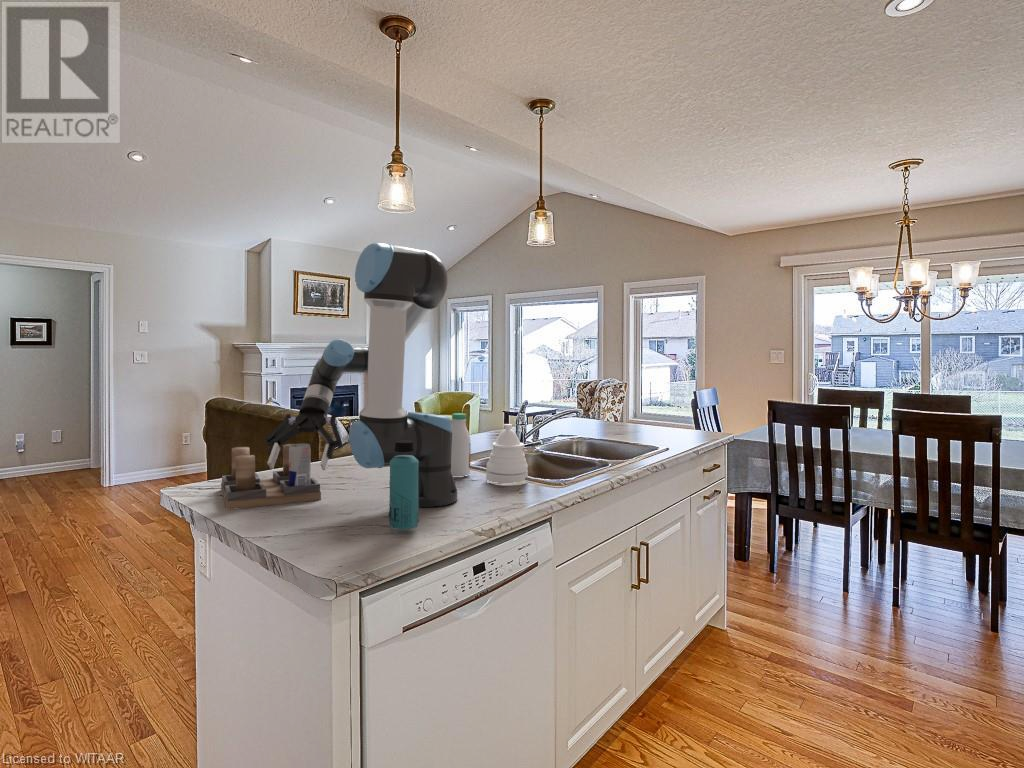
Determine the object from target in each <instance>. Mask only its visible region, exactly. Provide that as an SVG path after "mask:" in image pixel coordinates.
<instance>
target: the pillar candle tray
mask: <svg viewBox="0 0 1024 768" xmlns="http://www.w3.org/2000/svg"><path fill="white" fill-rule="evenodd" d="M292 444H293V443H288V444H282V470H275V471H272V477H271V478H260V477H259V475H258V473H257V472H256V455H255V454H251V453H250V447H249V446H237V447H232V448H231V474H227V475H225V474H224V475H222V476H221V482H220V490H221V494H223V495H222V497H223V502H224V501H225V502H224V505H225V508H227V509H230V510H236V509H235V508H239V509H247V508H255V507H264V506H273V505H282V504H291V503H292V502H293V503H302V502H308V501H309V500H311V501H318V500H317V499H320V500H322V491H321V484H320V483H319V482H318V480H316V479H315V478H314V477H310V485H300V486H290V487H289V447H290V445H292ZM301 501H302V502H301ZM309 502H310V501H309ZM227 509H226V510H227Z"/></svg>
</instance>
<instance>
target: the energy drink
mask: <svg viewBox="0 0 1024 768" xmlns="http://www.w3.org/2000/svg"><path fill="white" fill-rule="evenodd" d="M291 444H292V445H290V447H289V487H290V486H300V485H310V478H311V471H312V470H311V456H312V455H311V452H312V451H311V450H312V449H311V448H312V447H311V446H310V445H311V444H309V443H291Z"/></svg>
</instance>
